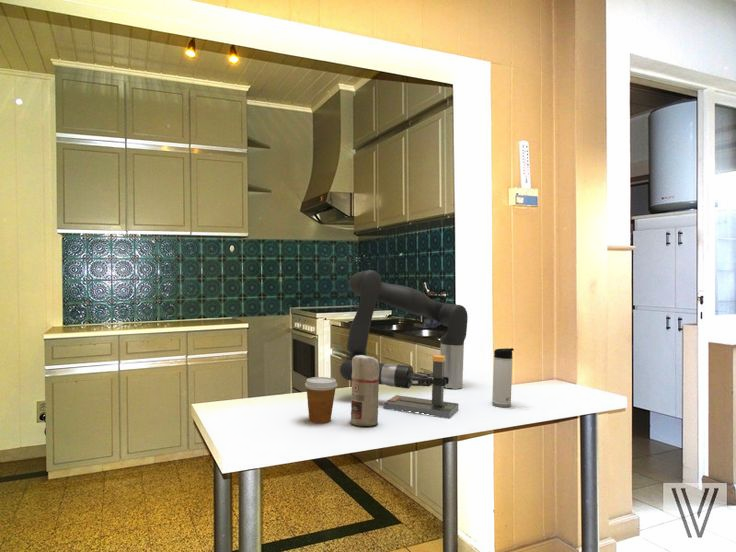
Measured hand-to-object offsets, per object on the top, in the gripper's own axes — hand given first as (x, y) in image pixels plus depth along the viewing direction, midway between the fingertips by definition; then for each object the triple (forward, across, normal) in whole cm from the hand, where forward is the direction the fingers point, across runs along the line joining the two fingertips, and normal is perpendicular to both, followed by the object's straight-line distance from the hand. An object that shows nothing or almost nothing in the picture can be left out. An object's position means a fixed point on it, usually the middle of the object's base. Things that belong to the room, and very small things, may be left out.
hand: (446, 381), depth 159 cm
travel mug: (+15, +20, +10) cm, 27 cm away
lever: (-3, 0, +7) cm, 8 cm away
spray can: (-18, -24, +10) cm, 32 cm away
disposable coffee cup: (-31, -28, +10) cm, 43 cm away
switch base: (-8, 0, +10) cm, 13 cm away
